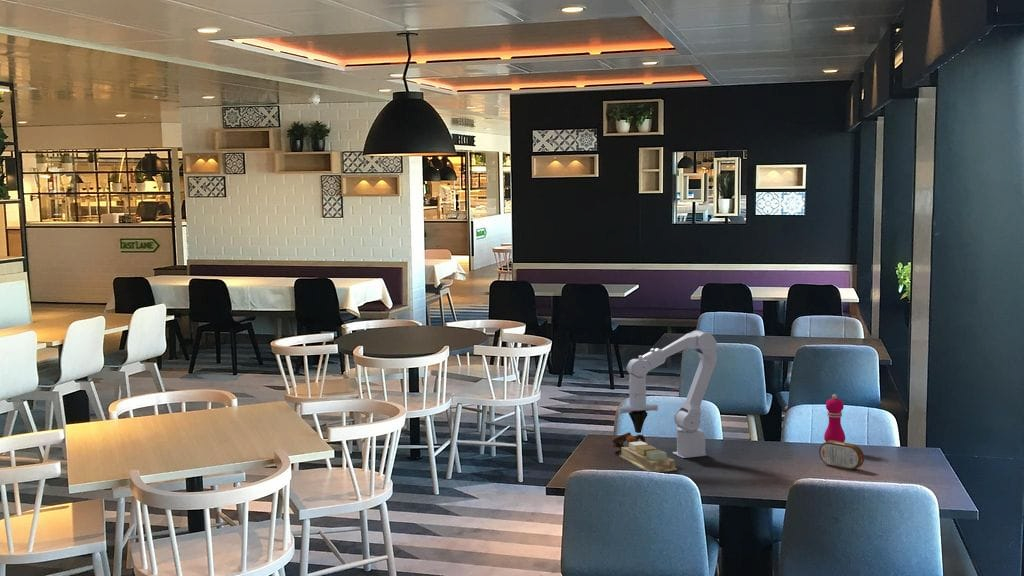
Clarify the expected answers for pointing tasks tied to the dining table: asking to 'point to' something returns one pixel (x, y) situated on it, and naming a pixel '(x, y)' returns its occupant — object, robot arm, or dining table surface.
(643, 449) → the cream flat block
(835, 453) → the tin
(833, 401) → the pepper mill
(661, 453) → the sage key
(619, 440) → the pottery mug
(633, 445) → the ivory key
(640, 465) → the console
